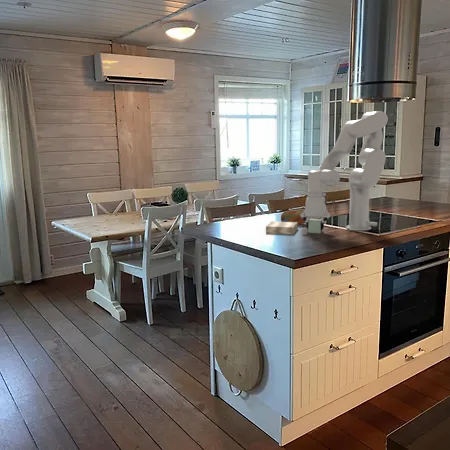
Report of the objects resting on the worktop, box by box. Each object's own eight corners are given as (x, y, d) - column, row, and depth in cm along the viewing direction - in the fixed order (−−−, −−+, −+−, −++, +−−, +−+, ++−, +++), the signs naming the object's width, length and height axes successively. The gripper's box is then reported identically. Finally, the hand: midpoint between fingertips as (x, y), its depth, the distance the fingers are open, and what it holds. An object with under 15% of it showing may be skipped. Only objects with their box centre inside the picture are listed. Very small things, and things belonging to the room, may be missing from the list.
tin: (282, 226, 257) (282, 211, 256) (280, 225, 260) (279, 210, 259) (307, 224, 261) (307, 209, 259) (304, 223, 264) (304, 208, 262)
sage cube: (321, 230, 242) (321, 219, 241) (320, 233, 237) (320, 221, 236) (309, 230, 244) (310, 219, 243) (308, 232, 239) (308, 221, 237)
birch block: (297, 229, 249) (297, 222, 248) (293, 235, 236) (293, 227, 235) (271, 228, 253) (271, 221, 253) (266, 234, 240) (265, 226, 240)
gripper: (333, 194, 238) (332, 229, 241) (299, 193, 243) (299, 227, 246) (332, 196, 231) (331, 231, 234) (297, 195, 236) (297, 230, 239)
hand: (315, 229), depth 240 cm, fingers closed on sage cube, 6 cm apart
